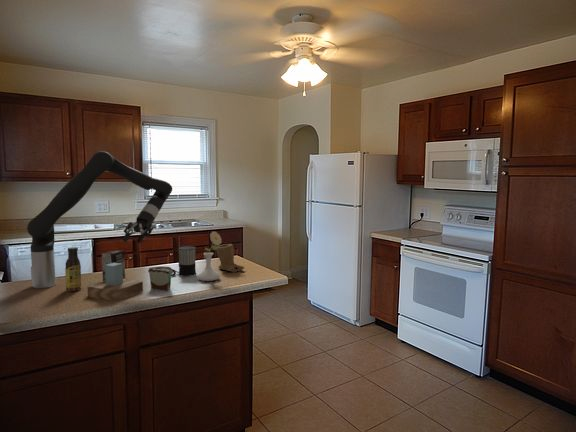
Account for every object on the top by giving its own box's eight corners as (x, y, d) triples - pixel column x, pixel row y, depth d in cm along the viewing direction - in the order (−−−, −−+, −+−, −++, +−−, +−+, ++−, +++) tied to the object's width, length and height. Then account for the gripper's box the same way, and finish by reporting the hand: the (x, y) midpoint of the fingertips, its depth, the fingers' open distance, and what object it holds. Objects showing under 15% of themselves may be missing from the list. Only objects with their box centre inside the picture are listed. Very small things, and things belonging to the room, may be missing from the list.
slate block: (105, 284, 168) (105, 265, 167) (114, 281, 172) (113, 262, 171) (114, 286, 166) (113, 266, 165) (123, 283, 170) (122, 263, 170)
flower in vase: (204, 284, 185) (203, 234, 183) (193, 279, 194) (192, 231, 191) (227, 279, 194) (226, 231, 191) (215, 275, 202) (215, 229, 200)
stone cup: (212, 269, 216) (212, 243, 214) (230, 266, 223) (230, 241, 222) (226, 274, 204) (226, 247, 203) (244, 271, 212) (244, 244, 210)
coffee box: (114, 287, 180) (113, 253, 178) (102, 286, 181) (101, 253, 179) (126, 282, 189) (124, 250, 187) (114, 281, 190) (113, 249, 188)
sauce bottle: (70, 292, 170) (68, 249, 168) (63, 290, 173) (60, 248, 171) (84, 289, 176) (82, 247, 174) (77, 287, 179) (75, 246, 177)
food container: (178, 288, 179) (178, 267, 178) (170, 291, 173) (170, 270, 172) (157, 285, 183) (156, 265, 182) (148, 288, 177) (147, 268, 176)
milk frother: (199, 274, 205) (199, 247, 204) (177, 280, 192) (176, 251, 191) (182, 270, 213) (181, 244, 212) (159, 276, 200) (158, 248, 199)
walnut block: (87, 297, 166) (87, 286, 165) (117, 287, 180) (117, 277, 180) (114, 302, 159) (114, 290, 159) (142, 292, 174) (142, 281, 173)
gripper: (132, 209, 186) (114, 235, 176) (155, 210, 180) (137, 237, 171) (141, 219, 191) (124, 245, 182) (163, 220, 185) (146, 247, 176)
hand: (130, 241), depth 176 cm, fingers open, 8 cm apart
